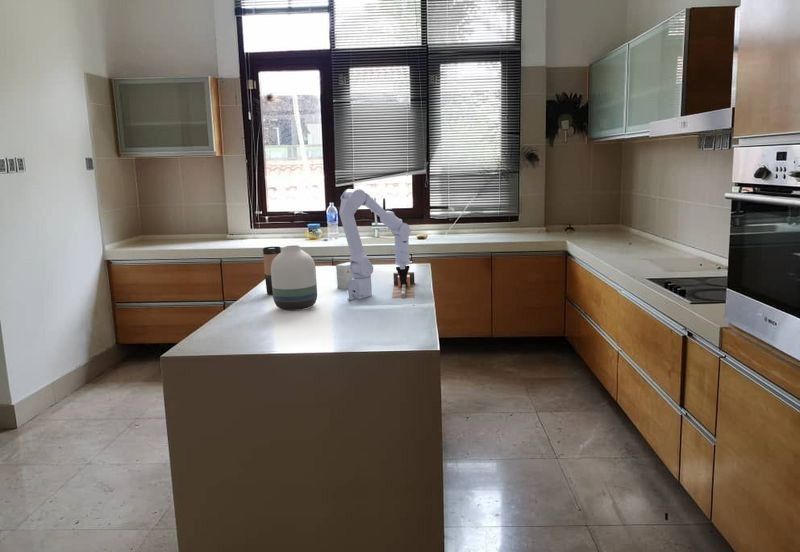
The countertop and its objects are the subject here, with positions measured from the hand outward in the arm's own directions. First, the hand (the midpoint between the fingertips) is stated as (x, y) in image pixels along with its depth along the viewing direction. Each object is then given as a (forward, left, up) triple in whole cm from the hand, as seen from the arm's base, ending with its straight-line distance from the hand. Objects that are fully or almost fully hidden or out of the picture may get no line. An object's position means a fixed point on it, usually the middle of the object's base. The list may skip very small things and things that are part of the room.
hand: (403, 283), depth 269 cm
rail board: (-1, -1, -4) cm, 4 cm away
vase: (-42, +21, -4) cm, 47 cm away
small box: (-1, +30, -4) cm, 30 cm away
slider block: (+5, +3, -2) cm, 7 cm away
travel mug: (-25, +51, -4) cm, 57 cm away
